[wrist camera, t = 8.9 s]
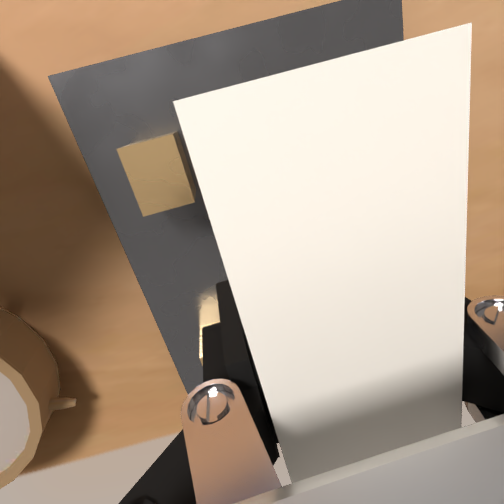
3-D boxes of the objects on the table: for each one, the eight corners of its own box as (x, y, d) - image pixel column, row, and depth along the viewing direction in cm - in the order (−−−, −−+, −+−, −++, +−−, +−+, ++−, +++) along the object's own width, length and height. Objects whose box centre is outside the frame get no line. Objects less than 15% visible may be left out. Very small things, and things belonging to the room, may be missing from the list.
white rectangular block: (329, 72, 9) (471, 22, 4) (373, 408, 14) (457, 548, 9) (185, 110, 9) (173, 101, 4) (283, 436, 14) (326, 593, 9)
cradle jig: (387, -6, 14) (444, -44, 11) (408, 332, 21) (445, 372, 18) (58, 79, 13) (12, 66, 10) (195, 397, 20) (194, 449, 17)
